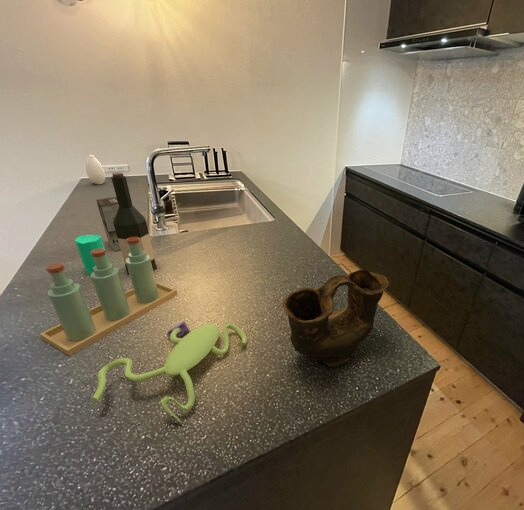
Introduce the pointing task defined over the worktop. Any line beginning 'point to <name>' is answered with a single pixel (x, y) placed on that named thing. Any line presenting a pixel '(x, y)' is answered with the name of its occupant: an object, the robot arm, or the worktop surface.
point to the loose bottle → (69, 305)
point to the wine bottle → (129, 221)
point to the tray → (105, 321)
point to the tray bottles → (111, 284)
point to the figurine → (177, 359)
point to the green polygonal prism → (89, 250)
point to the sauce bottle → (95, 170)
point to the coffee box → (109, 219)
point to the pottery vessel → (334, 316)
